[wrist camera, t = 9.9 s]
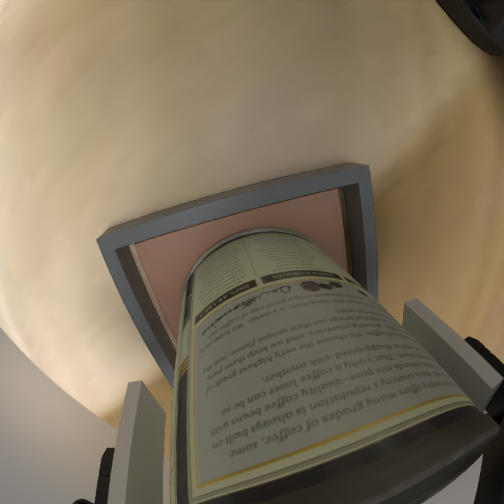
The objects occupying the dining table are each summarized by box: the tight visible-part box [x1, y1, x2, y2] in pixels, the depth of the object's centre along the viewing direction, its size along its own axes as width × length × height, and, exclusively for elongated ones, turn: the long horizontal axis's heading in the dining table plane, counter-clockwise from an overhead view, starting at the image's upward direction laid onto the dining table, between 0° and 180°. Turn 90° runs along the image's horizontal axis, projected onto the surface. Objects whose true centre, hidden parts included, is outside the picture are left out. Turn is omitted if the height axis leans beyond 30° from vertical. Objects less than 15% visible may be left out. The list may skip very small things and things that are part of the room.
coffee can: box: [170, 227, 500, 504], centre depth 11 cm, size 10×10×14 cm
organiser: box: [96, 163, 378, 388], centre depth 19 cm, size 15×28×2 cm, turn 14°
